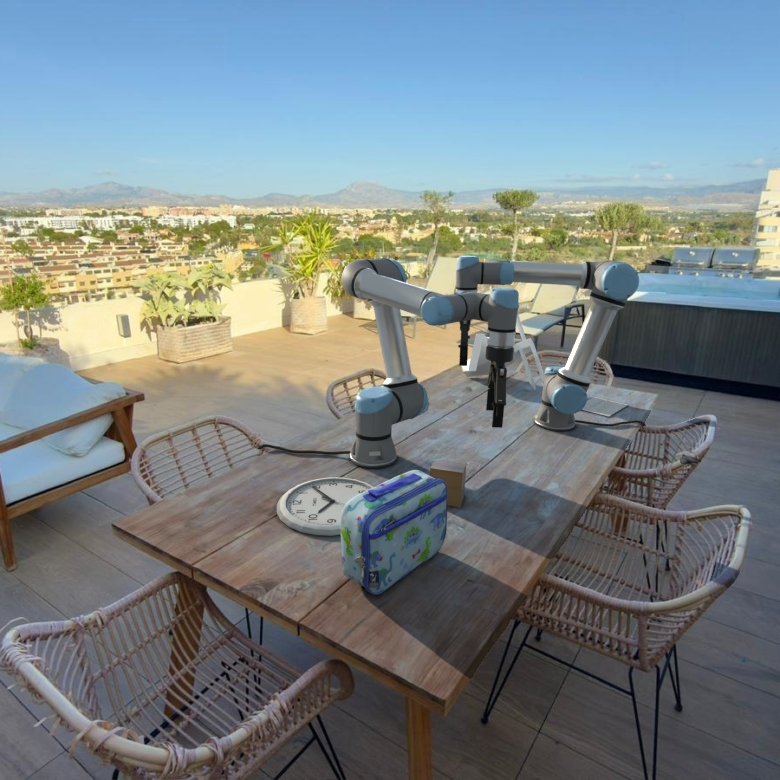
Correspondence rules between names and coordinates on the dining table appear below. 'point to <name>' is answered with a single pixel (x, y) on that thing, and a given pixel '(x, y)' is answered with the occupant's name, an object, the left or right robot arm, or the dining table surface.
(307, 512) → the wall clock
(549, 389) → the right robot arm
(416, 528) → the lunch box
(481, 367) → the white plastic object
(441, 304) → the left robot arm
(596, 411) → the invitation card
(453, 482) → the wooden block
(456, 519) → the dining table surface
